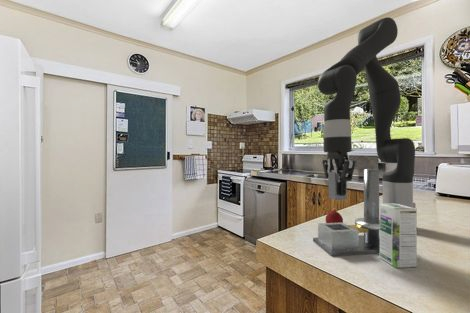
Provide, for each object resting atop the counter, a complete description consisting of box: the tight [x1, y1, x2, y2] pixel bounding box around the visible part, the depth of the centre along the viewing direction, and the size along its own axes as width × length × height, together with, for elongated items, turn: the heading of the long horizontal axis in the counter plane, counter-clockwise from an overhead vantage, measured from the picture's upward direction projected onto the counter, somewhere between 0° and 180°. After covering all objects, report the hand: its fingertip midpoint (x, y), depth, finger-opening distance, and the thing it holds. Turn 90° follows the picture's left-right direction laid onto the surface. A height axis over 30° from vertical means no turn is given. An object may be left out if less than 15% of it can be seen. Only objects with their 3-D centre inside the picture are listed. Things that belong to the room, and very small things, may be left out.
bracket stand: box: [312, 168, 380, 257], centre depth 68 cm, size 20×11×23 cm, turn 96°
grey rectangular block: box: [327, 171, 348, 201], centre depth 67 cm, size 4×4×8 cm
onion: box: [325, 208, 344, 223], centre depth 82 cm, size 6×6×8 cm
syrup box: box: [379, 203, 418, 269], centre depth 57 cm, size 6×6×14 cm
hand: (337, 193), depth 67 cm, fingers closed on grey rectangular block, 3 cm apart
